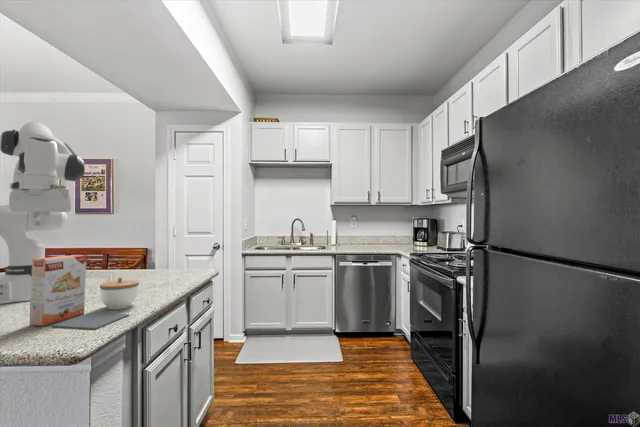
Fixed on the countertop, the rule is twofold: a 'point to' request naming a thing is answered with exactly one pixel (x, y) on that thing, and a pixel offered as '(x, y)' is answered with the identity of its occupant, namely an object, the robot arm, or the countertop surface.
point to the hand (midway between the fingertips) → (40, 225)
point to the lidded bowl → (119, 293)
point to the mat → (91, 321)
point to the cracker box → (57, 289)
